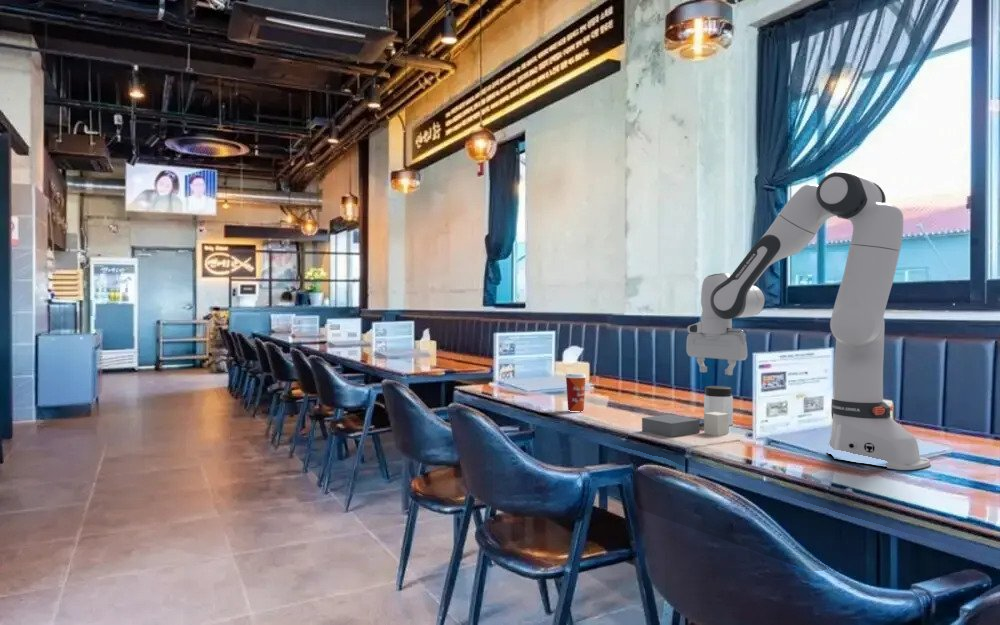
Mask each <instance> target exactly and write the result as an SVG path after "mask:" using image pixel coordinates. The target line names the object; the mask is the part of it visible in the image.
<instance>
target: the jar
mask: <svg viewBox="0 0 1000 625" xmlns="http://www.w3.org/2000/svg"><path fill="white" fill-rule="evenodd" d="M704 390H705V392H704V394H703V414H704V413H710V412H720V413H726V414H729V425H730V426H733V424H734V414H733V413H734V396H733V395H732V391H733V390H732V387H731V386H726V385H708V386H705V387H704Z"/></svg>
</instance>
